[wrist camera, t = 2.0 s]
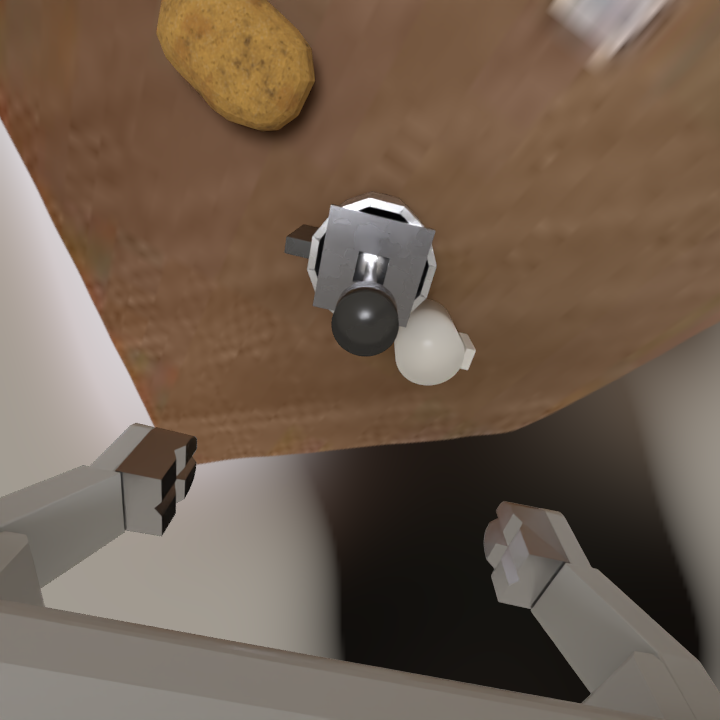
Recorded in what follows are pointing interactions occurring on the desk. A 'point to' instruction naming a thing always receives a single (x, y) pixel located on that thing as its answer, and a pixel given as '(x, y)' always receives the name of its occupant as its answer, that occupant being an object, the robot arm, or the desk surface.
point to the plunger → (366, 310)
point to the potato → (239, 58)
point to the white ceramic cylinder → (431, 346)
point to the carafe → (368, 250)
